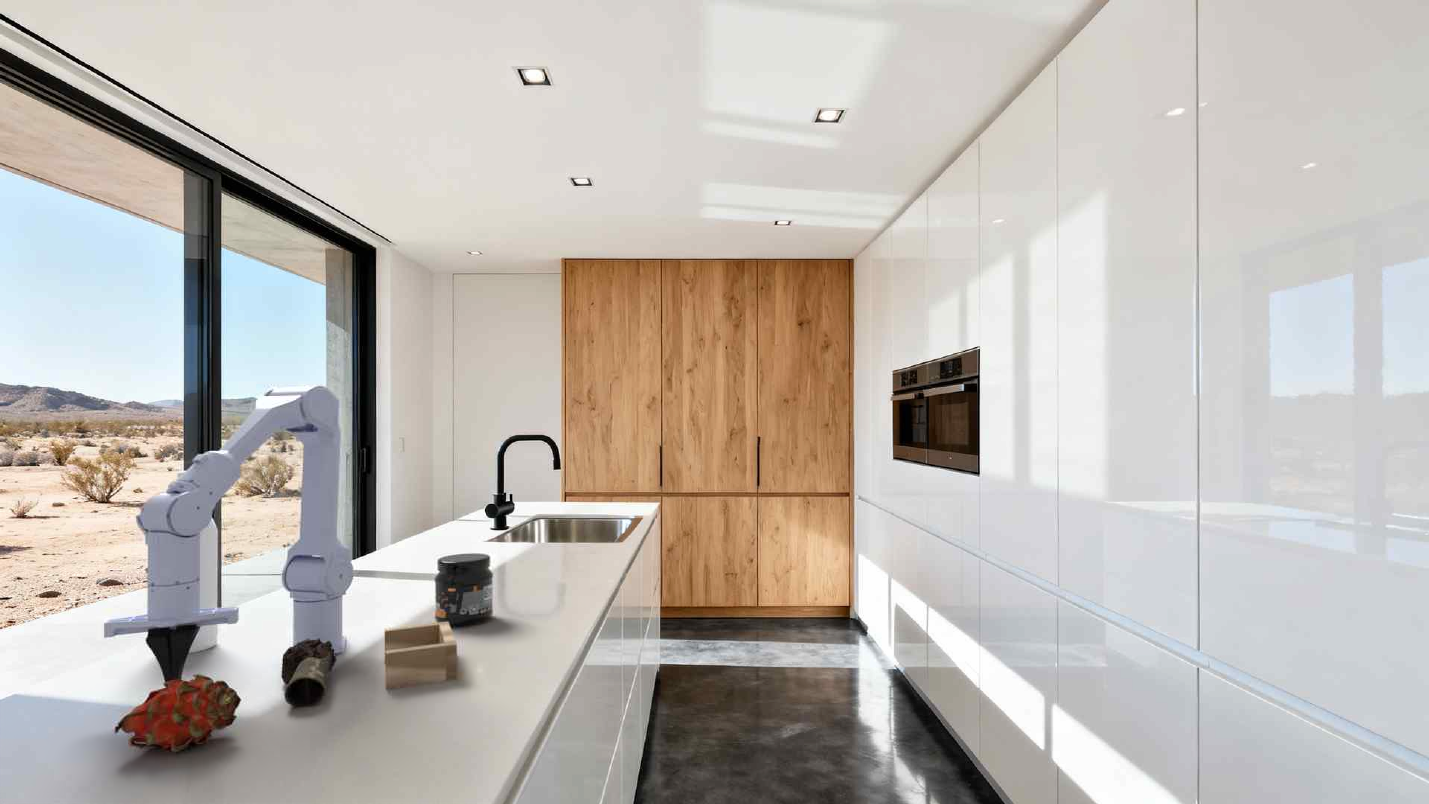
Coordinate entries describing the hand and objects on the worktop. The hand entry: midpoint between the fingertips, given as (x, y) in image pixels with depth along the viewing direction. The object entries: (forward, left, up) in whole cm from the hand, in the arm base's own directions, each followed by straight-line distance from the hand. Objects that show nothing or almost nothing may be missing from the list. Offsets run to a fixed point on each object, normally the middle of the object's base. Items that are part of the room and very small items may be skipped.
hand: (173, 683), depth 98 cm
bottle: (-30, -4, -3) cm, 30 cm away
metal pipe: (0, +16, -3) cm, 16 cm away
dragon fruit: (+16, +4, -3) cm, 17 cm away
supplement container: (-26, +40, -3) cm, 48 cm away
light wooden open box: (0, +30, -3) cm, 30 cm away
